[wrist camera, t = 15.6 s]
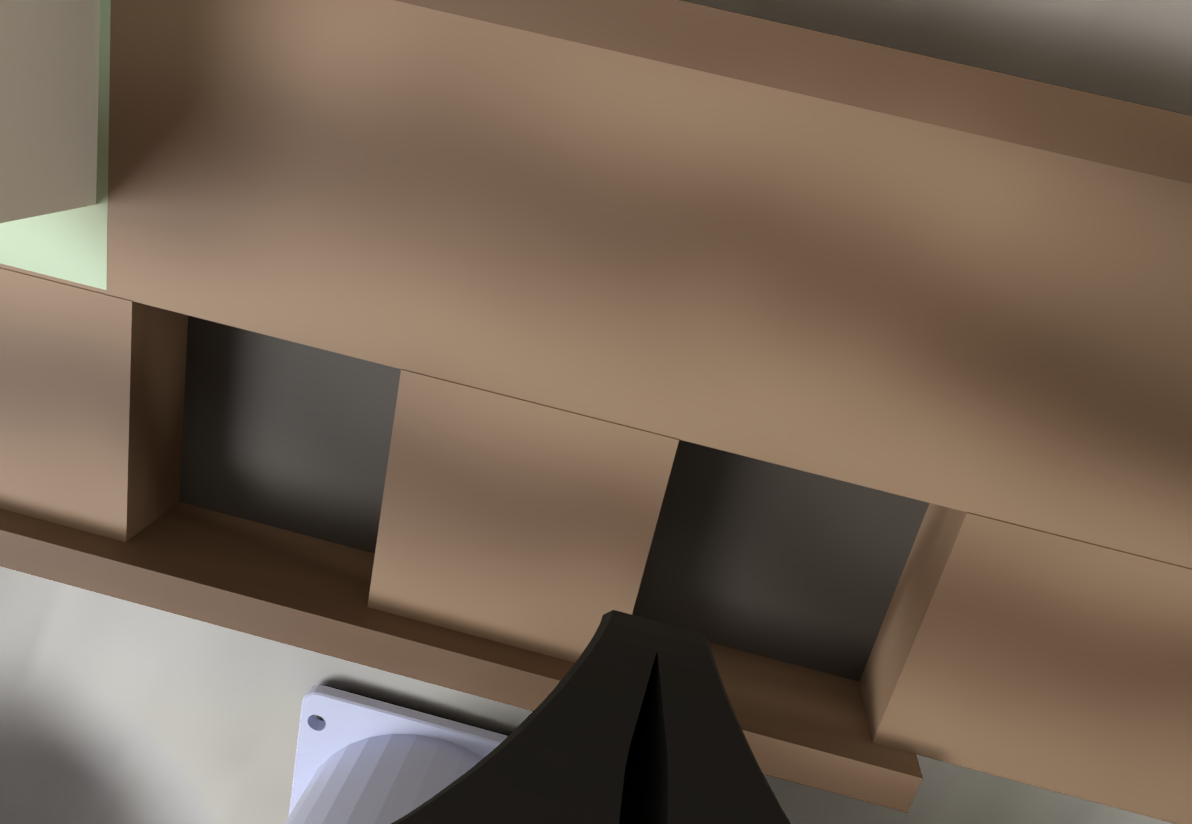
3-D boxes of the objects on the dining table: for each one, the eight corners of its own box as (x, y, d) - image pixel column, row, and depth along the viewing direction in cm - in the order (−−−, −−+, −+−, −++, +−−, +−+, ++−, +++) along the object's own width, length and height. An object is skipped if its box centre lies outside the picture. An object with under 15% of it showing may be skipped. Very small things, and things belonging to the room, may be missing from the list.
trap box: (1179, 797, 23) (1246, 905, 20) (-63, 466, 24) (-172, 519, 22) (1528, 203, 17) (1693, 229, 14) (-102, -166, 19) (-255, -211, 16)
